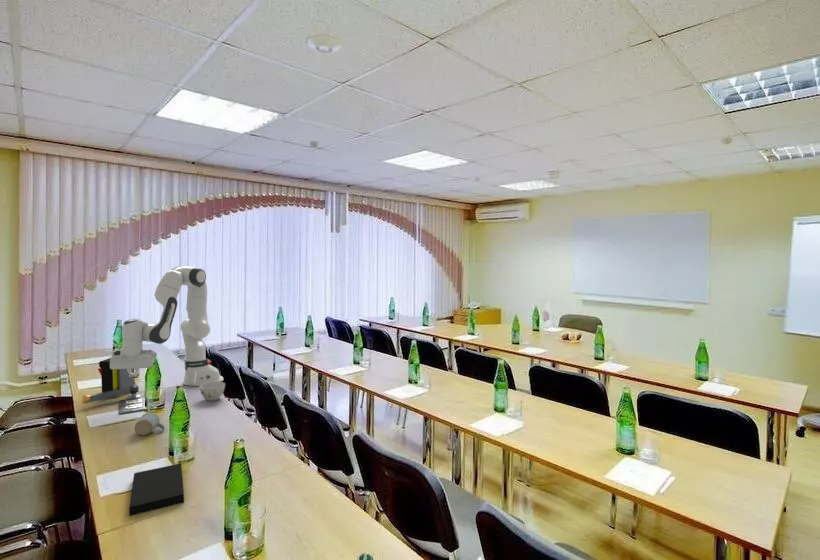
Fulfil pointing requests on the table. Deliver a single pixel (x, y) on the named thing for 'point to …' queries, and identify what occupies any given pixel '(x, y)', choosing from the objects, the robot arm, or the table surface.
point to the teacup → (212, 390)
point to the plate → (132, 405)
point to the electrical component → (114, 377)
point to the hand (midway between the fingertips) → (133, 376)
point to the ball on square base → (133, 396)
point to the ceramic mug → (148, 424)
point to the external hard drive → (156, 489)
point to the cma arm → (109, 394)
